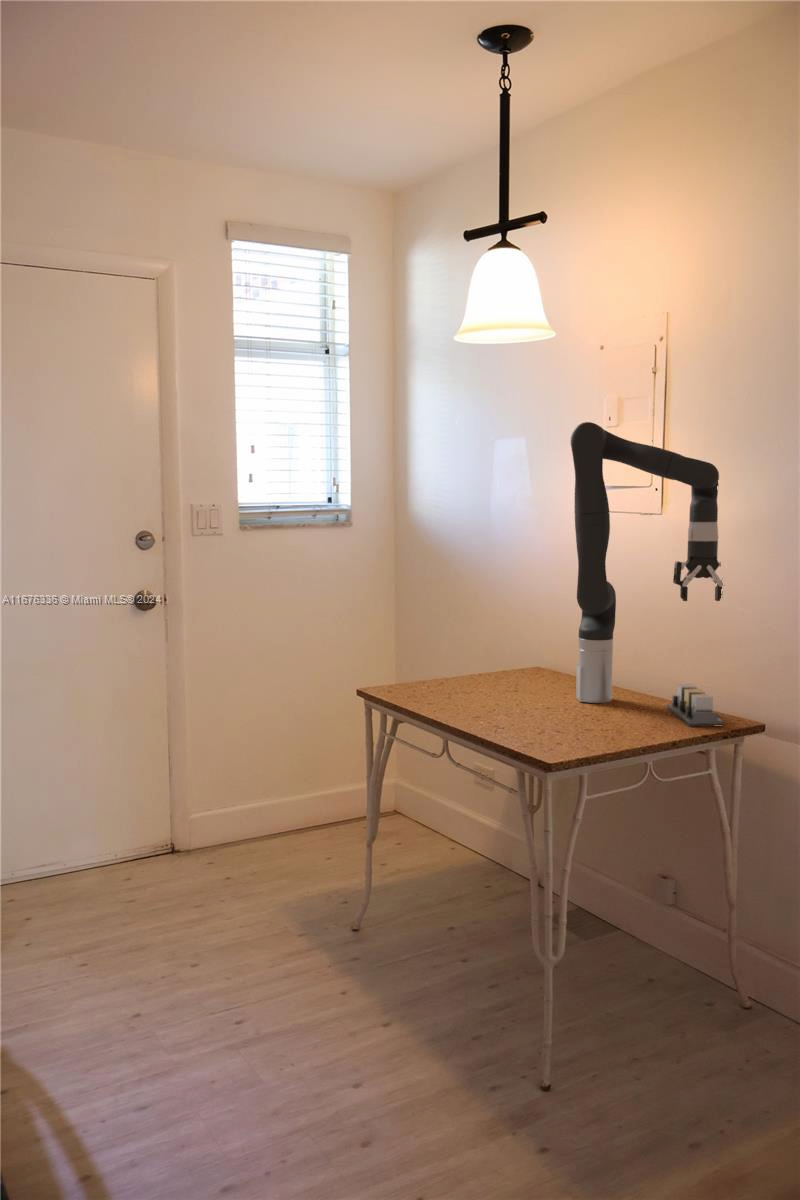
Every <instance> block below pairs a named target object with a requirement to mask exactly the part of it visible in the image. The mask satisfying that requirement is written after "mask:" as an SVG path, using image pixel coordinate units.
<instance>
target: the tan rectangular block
mask: <svg viewBox="0 0 800 1200" xmlns="http://www.w3.org/2000/svg"><path fill="white" fill-rule="evenodd" d="M692 694H706V692H705V691H704V690H702V689H700V688H697V689H685V693H684V713H685V714H686V706H691V703H692Z"/></svg>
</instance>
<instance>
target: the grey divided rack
mask: <svg viewBox="0 0 800 1200" xmlns="http://www.w3.org/2000/svg"><path fill="white" fill-rule="evenodd" d="M685 689H698V686H696V685H695V684H694V683H693V684H692V683H691V684H684V683H683V684H682V683H681V684H680V683H679V684H677V690H676V691H677V695H674V694H673V695H672V696H671V698H672V699H671V702H667V705H666V707H667V708H666V709H667V710H669V711H670V712H671V713H673V715H675V716H676V718H678V719H679V720H681V721H682V722H683V723H684V724H685V723H686V724H685V725H687V726H688V727H689V728H694V727H693V726H714V725H724V721H723V719H722V718H720V717H719V712H718V711H713V707H714V705H713V704H714V702H713V701H714V698H713V696H711V695H709V694H706V693H705V694H692V703H691V706H686V714H685V713H684V693H685ZM690 726H692V727H690Z"/></svg>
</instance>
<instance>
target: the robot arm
mask: <svg viewBox="0 0 800 1200" xmlns="http://www.w3.org/2000/svg"><path fill="white" fill-rule="evenodd" d="M570 447H571V452H572V453H571V454H572V461H573V466H574V467H573V469H574V527H575V528H574V529H575V543H576V552H577V553H576V554H577V562H578V563H577V565H578V568H577V571H578V572H577V587H576V601H577V604H578V606H579V608H580V609H581V619H580V624H579V627H578V628H579V629H578V649H577V650H578V654H577V655H578V657H577V659H578V661H577V662H578V663H576V676H575V677H576V678H575V679H576V681H575V683H576V684H575V685H576V687H575V689H576V690H575V692H576V693H575V698H576V699H577V701H578V702H580V703H589V704H604V703H605V704H606V703H610V702H612V701H613V700H612V699H613V660H614V659H613V654H614V653H613V650H614V649H613V648H614V631H615V626H616V608H617V607H616V605H617V600H616V599H617V596H616V591H615V588H614V586H613V584H612V583H611V582H610V581H608V579H607V568H606V567H607V566H606V558H607V553H608V547H609V540H610V533H611V532H610V531H611V517H610V506H609V505H610V504H609V499H608V493H607V488H606V485H605V481H604V472H603V471H604V470H603V469H604V468H603V464H604V463H603V461H604V460H607V461H613V462H617V463H621V464H623V465H628V466H630V467H632V468H635V469H638V470H640V471H643V472H645V473H647V474H648V473H649V474H651V475H653V476H657V477H660V478H663V479H668V480H671V481H677V482H680V483H682V484H685V485H687V486H690V488H691V491H690V492H691V495H690V496H691V502H690V506H689V521H688V522H689V523H688V530H687V554H686V556H687V559H686V561H679V560H676V561H674V569H673V578H672V579H673V581H672V583H673V584H675V585H678V586H679V587H680V591H679V592H680V595H679V596H680V599H682V601H683V602H688V585H689V583H690V582H691V581H692V580H693V579H702V578H704V579H711V580H712V581H713V582H714V584H715V586H716V583H717V586H716V587H715V586H714V600H715V601H716V602H720V601H721V600H722V599H721V595H722V596H723V593H722V594H721V589H722V586H723V583H722V580H721V579H720V576H719V575H718V574H717V572H716V570H717V569H719V568H720V567H721V562H722V561H718V546H719V545H718V544H719V527H718V520H719V519H718V514H719V513H718V512H719V511H718V510H719V508H718V507H719V506H718V493H719V489H718V490H717V486H718V487H719V483H718V480H719V481H720V472H719V470H718V468H717V467H716V466H715V464H713V463H711V462H707V461H704V460H702V459H701V460H700V459H697V458H692V457H687V456H684V455H682V454H680V453H677V452H674V451H671V450H668V449H665V448H660V447H657V446H653V445H648V444H644V443H640V442H636V441H632V440H628V439H626V438H623V437H619V436H618V435H615V434H614V433H611V432H609V431H608V430H606V429H604V428H603V427H602V426H600V425H599V424H597V423H594V422H591V421H585V422H581V423H580V424H578V425H577V426H575V428H574V429H573V431H572V433H571V435H570ZM684 568H686V569H687V570H688V572H687V573H686V574H685V575H684V577H683V578H682V570H684ZM681 578H682V580H681ZM723 587H724V586H723Z"/></svg>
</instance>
